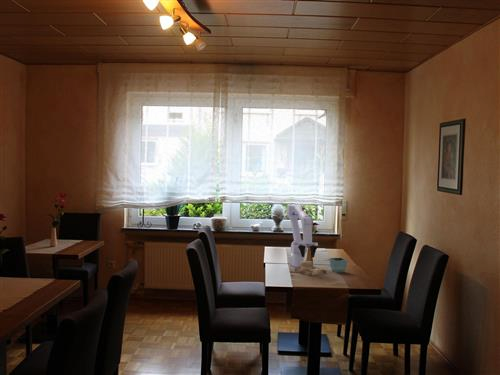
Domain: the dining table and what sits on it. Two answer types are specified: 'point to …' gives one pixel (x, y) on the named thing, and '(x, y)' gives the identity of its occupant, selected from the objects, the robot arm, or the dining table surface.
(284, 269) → the dining table surface
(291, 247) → the robot arm
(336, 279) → the dining table surface
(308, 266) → the tall block
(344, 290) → the dining table surface
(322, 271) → the offcut board lower
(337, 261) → the flower pot
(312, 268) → the rack
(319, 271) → the offcut board upper
